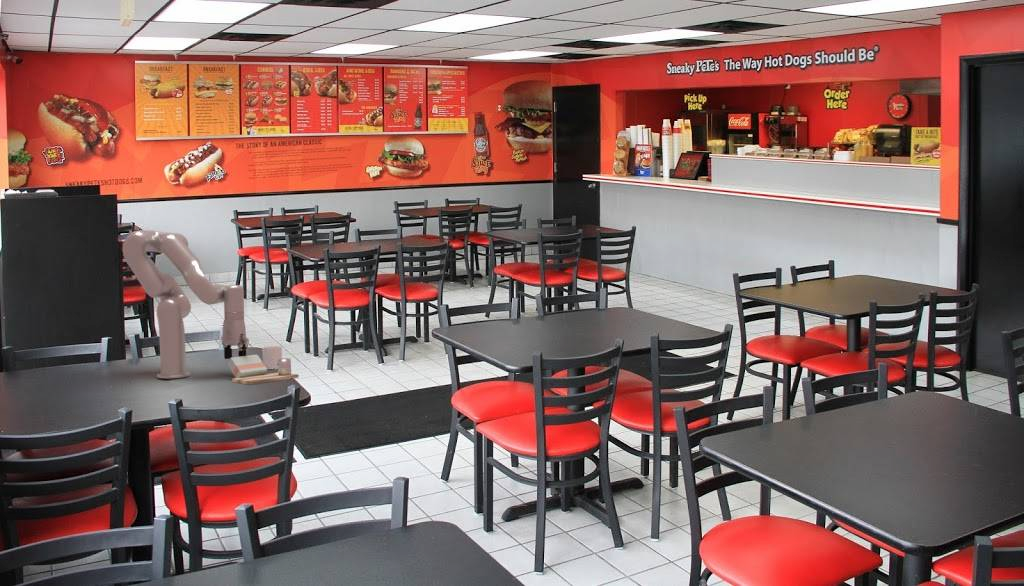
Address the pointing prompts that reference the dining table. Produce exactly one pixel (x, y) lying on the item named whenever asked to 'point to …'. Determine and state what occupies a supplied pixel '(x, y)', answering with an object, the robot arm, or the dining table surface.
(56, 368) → the dining table surface
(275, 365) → the pink cup
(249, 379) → the wooden board
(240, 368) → the carton
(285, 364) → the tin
